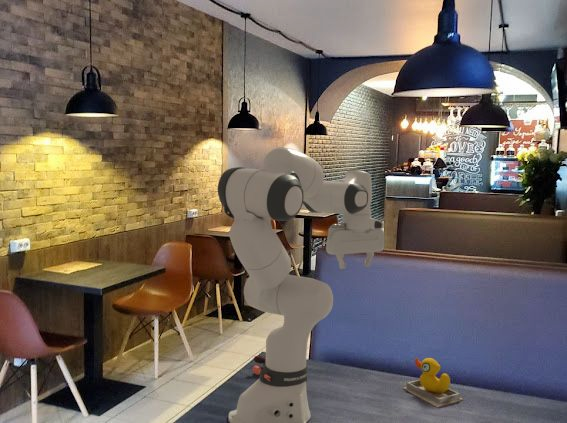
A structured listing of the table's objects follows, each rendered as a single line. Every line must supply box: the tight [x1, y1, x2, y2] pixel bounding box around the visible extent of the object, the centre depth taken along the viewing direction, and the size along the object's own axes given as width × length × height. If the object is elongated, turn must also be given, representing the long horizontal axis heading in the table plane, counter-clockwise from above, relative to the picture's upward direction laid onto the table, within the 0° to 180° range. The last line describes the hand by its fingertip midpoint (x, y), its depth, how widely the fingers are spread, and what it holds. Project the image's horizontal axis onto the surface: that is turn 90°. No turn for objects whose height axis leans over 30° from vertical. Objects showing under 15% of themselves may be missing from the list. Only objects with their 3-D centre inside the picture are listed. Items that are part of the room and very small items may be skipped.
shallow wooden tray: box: [402, 379, 464, 408], centre depth 169 cm, size 10×14×2 cm
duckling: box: [414, 357, 451, 393], centre depth 170 cm, size 11×5×10 cm, turn 48°
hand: (354, 267), depth 173 cm, fingers open, 8 cm apart
